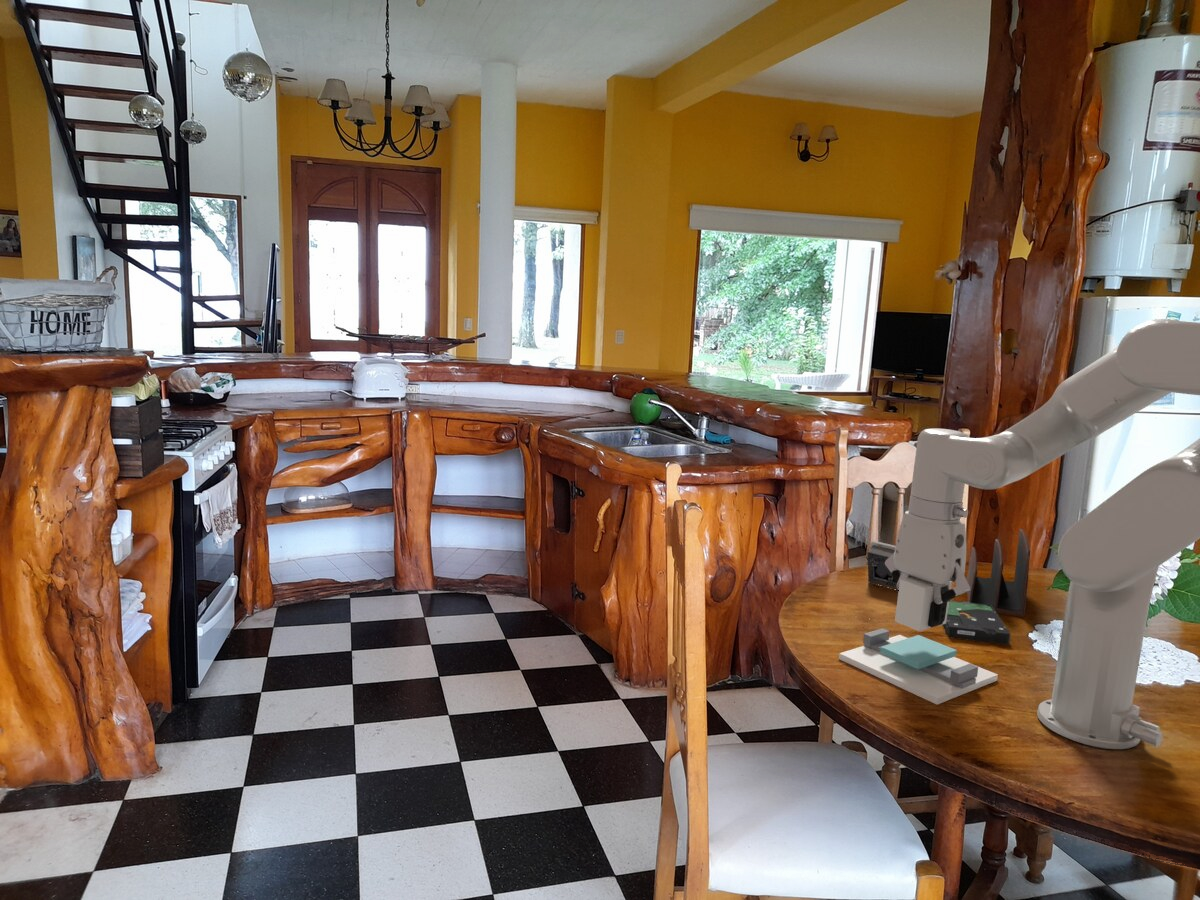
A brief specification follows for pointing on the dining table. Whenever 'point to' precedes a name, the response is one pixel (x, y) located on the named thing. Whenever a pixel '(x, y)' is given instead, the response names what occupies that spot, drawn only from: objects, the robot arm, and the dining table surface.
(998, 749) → the dining table surface
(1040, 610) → the dining table surface
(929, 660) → the plate
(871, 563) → the electrical switch
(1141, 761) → the dining table surface
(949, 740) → the dining table surface
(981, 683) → the rail panel
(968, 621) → the disk drive
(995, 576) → the letter holder
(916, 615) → the block
